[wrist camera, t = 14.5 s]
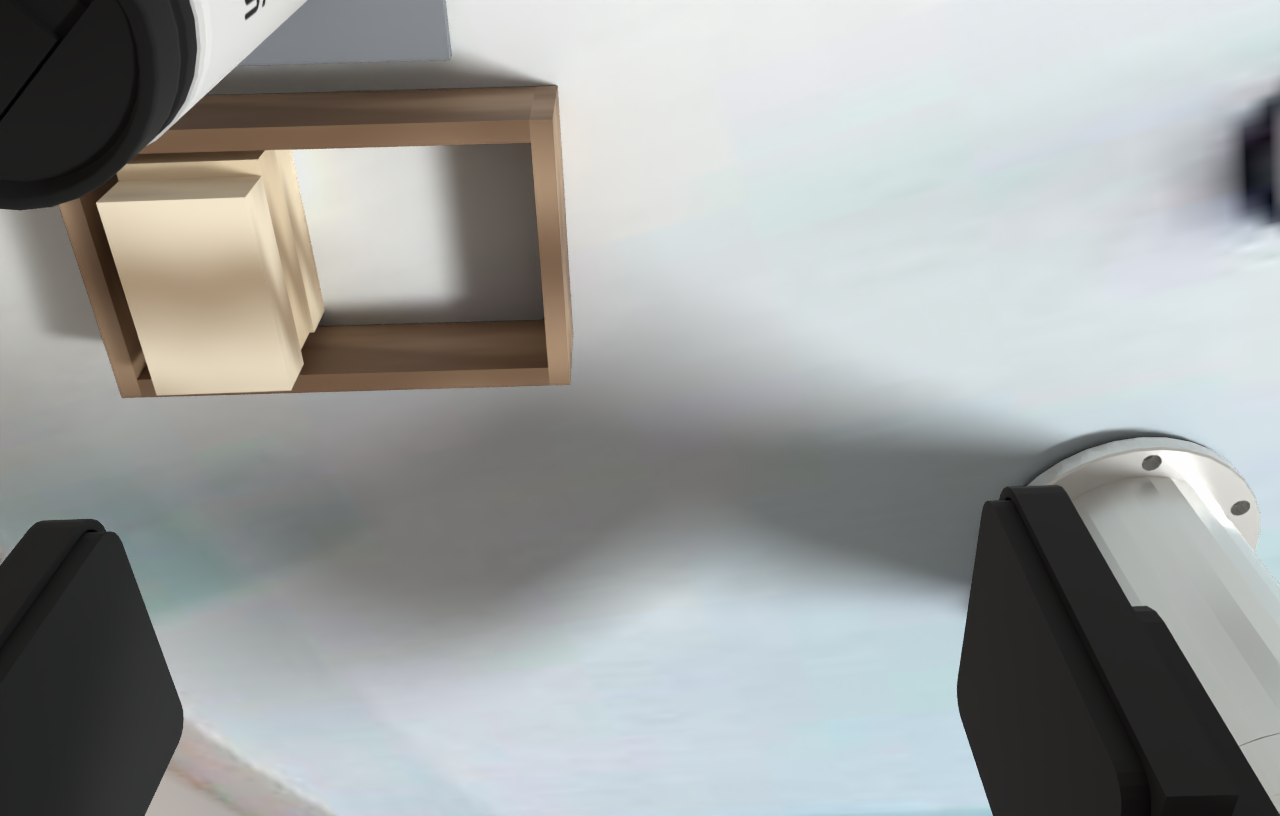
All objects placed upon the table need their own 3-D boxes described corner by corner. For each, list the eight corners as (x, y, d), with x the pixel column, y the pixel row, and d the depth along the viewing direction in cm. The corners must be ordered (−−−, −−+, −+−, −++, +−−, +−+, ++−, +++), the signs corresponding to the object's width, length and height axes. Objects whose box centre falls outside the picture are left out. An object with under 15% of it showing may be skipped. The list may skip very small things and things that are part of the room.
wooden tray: (573, 335, 46) (570, 384, 43) (157, 348, 46) (122, 397, 43) (557, 85, 41) (552, 119, 37) (83, 98, 40) (35, 133, 37)
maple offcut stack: (326, 315, 46) (291, 390, 41) (207, 320, 46) (156, 395, 41) (286, 123, 41) (241, 180, 36) (154, 128, 41) (90, 185, 36)
